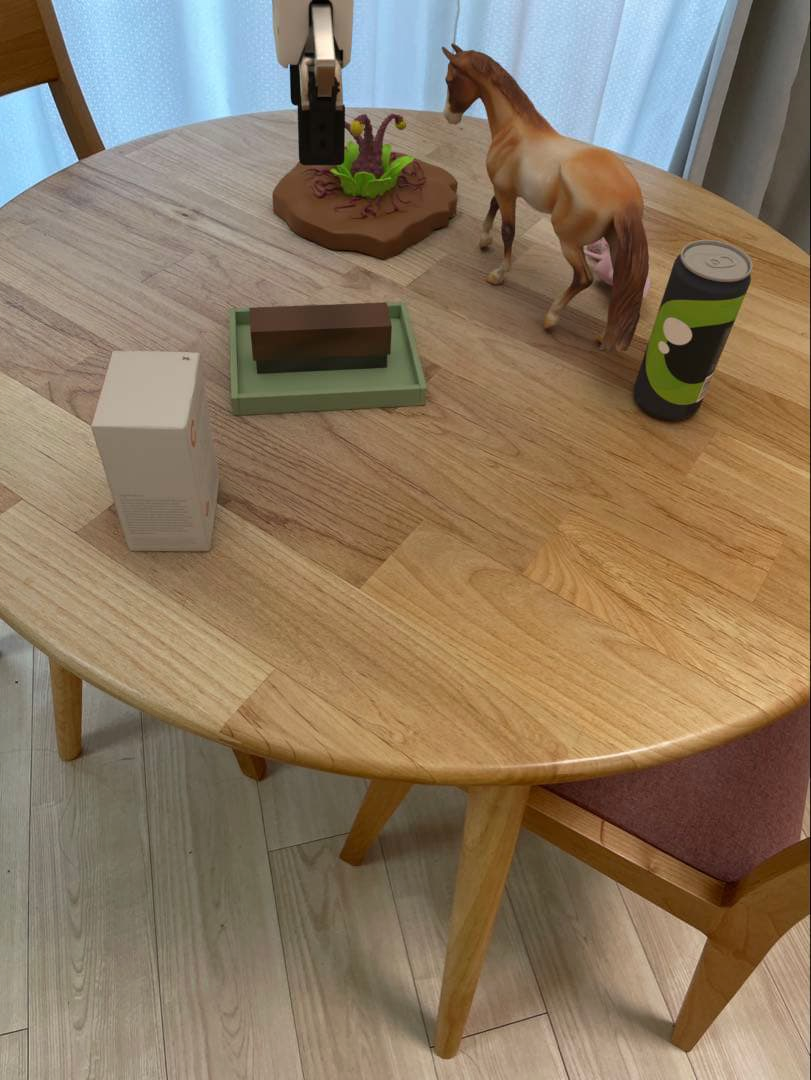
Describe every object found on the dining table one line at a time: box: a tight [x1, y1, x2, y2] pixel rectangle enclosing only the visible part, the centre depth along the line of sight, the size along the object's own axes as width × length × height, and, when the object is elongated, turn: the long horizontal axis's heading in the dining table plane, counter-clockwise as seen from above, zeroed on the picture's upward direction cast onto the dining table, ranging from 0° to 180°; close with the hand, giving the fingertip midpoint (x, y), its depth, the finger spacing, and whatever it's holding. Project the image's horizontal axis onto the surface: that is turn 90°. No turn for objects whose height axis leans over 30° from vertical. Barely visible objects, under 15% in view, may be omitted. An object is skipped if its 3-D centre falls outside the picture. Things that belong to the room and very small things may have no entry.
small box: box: [90, 350, 220, 552], centre depth 65 cm, size 8×6×13 cm
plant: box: [271, 113, 459, 260], centre depth 97 cm, size 20×20×11 cm
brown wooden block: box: [248, 301, 392, 374], centre depth 80 cm, size 12×4×5 cm, turn 98°
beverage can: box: [633, 239, 754, 421], centre depth 76 cm, size 6×6×15 cm
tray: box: [228, 301, 428, 416], centre depth 82 cm, size 17×13×2 cm
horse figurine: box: [441, 42, 650, 353], centre depth 83 cm, size 31×8×21 cm, turn 32°
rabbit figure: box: [583, 237, 652, 300], centre depth 92 cm, size 6×6×15 cm
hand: (316, 132), depth 66 cm, fingers open, 9 cm apart
